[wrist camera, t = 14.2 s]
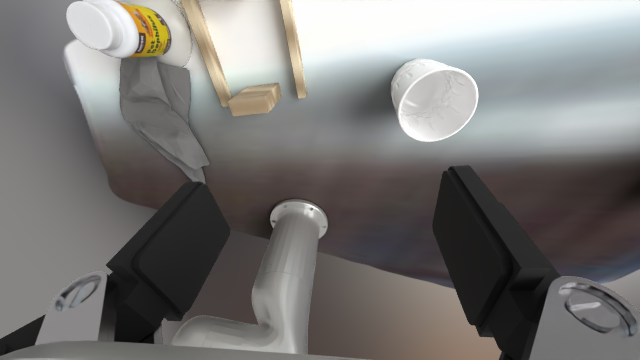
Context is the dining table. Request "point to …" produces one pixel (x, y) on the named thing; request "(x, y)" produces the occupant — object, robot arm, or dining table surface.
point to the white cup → (432, 99)
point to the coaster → (179, 29)
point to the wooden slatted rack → (255, 96)
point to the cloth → (161, 111)
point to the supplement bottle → (119, 28)
